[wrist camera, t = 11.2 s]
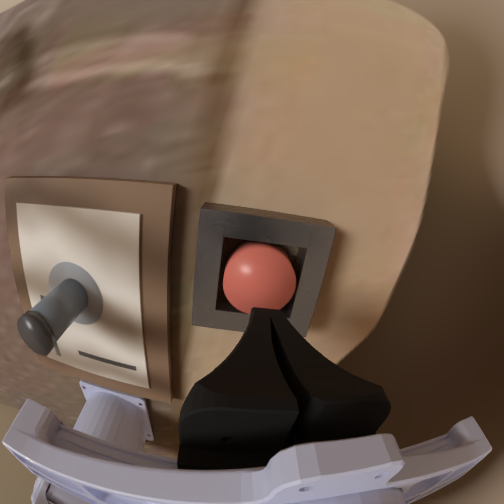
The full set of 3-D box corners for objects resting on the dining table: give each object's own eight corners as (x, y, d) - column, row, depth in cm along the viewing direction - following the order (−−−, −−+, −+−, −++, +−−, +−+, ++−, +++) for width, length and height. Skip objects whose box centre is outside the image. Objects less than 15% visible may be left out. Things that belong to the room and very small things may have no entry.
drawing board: (173, 396, 23) (170, 405, 22) (44, 358, 22) (40, 364, 21) (176, 183, 16) (171, 185, 15) (12, 176, 15) (2, 178, 14)
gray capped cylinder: (91, 314, 18) (55, 361, 13) (63, 306, 18) (25, 348, 12) (86, 280, 17) (42, 324, 12) (57, 274, 17) (12, 311, 11)
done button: (283, 302, 19) (287, 318, 17) (221, 295, 19) (219, 310, 17) (296, 244, 18) (303, 255, 16) (229, 234, 17) (227, 245, 15)
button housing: (300, 321, 20) (305, 337, 18) (195, 309, 20) (191, 324, 18) (326, 220, 18) (335, 228, 16) (205, 202, 17) (200, 208, 15)
